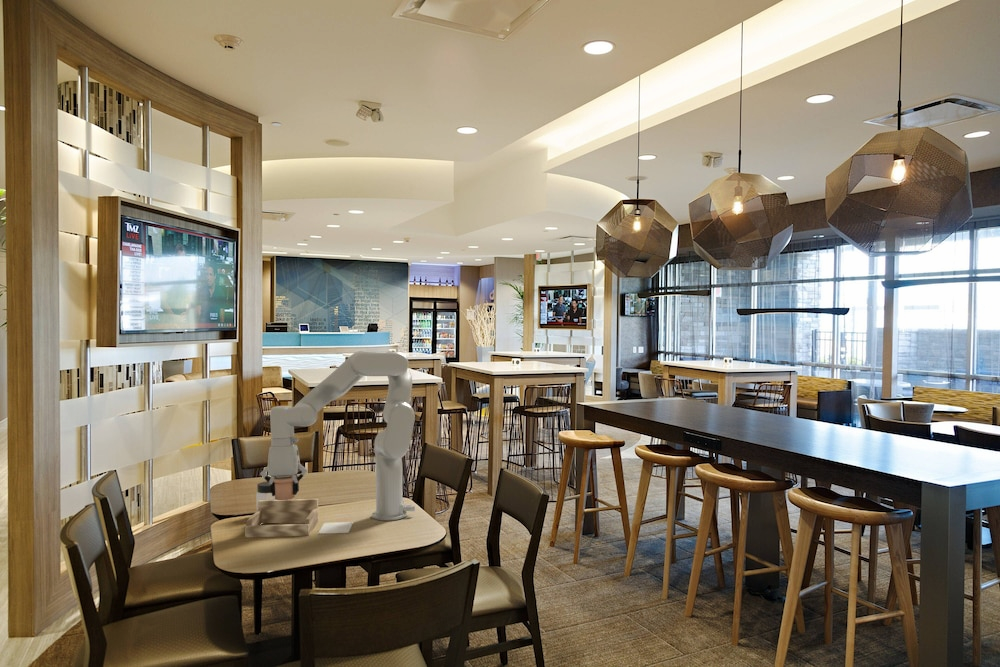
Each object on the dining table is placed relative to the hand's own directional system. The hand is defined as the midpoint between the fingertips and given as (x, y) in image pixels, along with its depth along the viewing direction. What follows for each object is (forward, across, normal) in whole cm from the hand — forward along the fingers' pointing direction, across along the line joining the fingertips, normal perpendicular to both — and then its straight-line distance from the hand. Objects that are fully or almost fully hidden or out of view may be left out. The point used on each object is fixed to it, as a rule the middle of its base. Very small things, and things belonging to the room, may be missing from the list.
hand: (284, 494), depth 224 cm
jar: (+12, +10, -17) cm, 23 cm away
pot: (+1, 0, 0) cm, 1 cm away
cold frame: (+12, +1, 0) cm, 12 cm away
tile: (+12, -17, +1) cm, 21 cm away
